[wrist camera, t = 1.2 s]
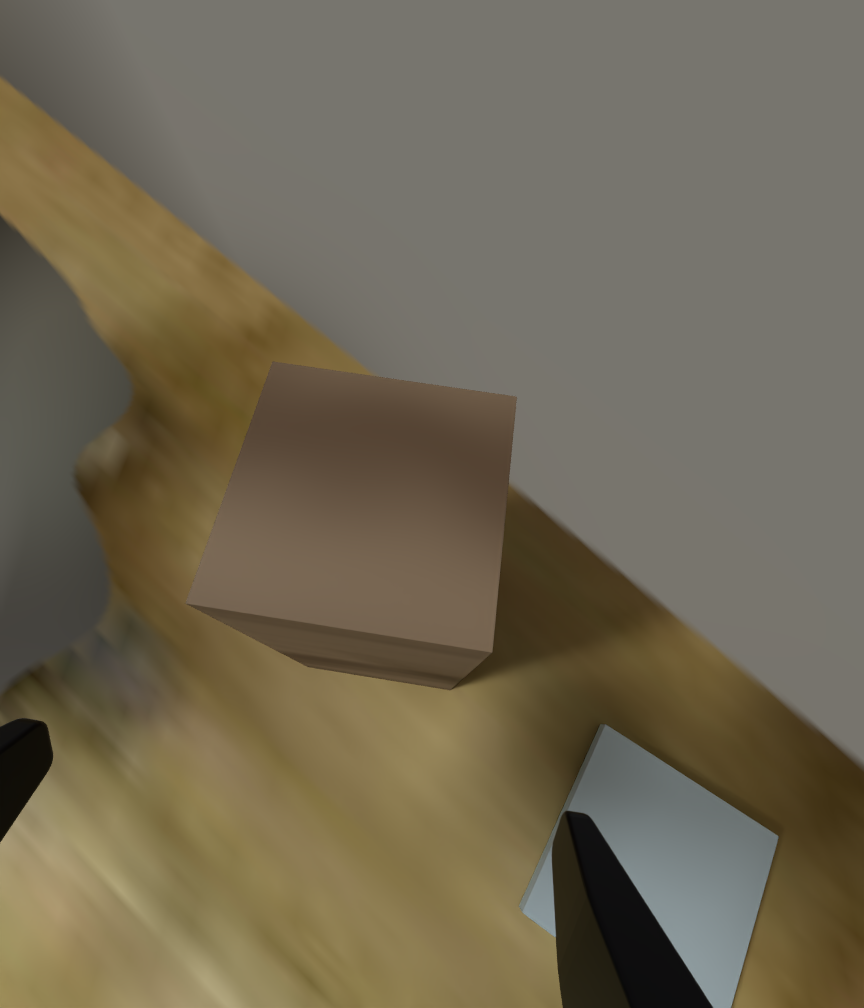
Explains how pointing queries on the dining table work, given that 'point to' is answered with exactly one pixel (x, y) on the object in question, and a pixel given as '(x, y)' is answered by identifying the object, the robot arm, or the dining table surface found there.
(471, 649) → the walnut block
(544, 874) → the slate-blue tile
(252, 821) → the dining table surface
